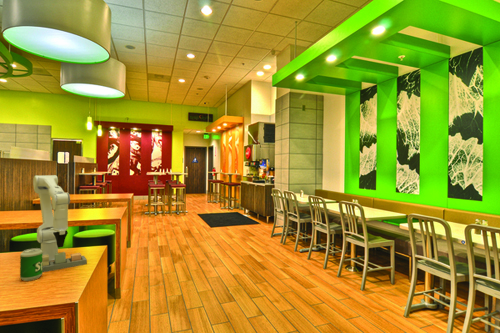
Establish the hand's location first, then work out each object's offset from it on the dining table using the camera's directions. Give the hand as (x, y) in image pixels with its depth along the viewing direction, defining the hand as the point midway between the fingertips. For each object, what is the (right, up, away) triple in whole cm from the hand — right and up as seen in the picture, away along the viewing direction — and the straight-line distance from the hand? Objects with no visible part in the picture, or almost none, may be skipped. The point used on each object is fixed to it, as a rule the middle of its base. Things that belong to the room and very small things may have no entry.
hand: (60, 246), depth 133 cm
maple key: (-5, -7, -4) cm, 10 cm away
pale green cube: (0, -7, 0) cm, 7 cm away
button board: (0, -9, 0) cm, 9 cm away
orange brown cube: (+5, -9, +4) cm, 11 cm away
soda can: (-3, -10, -14) cm, 17 cm away
